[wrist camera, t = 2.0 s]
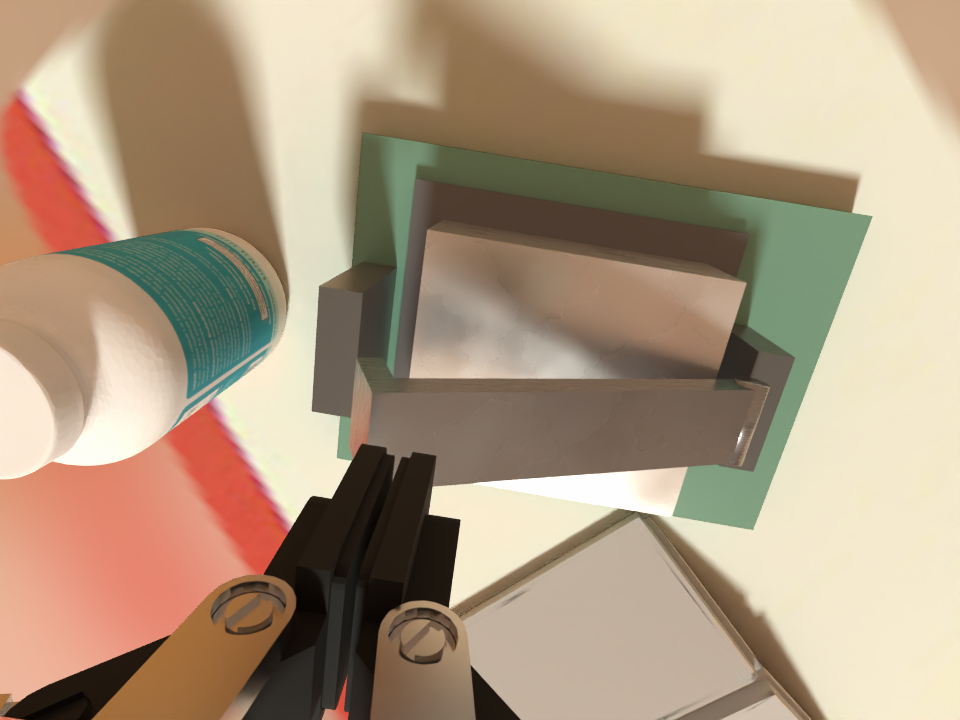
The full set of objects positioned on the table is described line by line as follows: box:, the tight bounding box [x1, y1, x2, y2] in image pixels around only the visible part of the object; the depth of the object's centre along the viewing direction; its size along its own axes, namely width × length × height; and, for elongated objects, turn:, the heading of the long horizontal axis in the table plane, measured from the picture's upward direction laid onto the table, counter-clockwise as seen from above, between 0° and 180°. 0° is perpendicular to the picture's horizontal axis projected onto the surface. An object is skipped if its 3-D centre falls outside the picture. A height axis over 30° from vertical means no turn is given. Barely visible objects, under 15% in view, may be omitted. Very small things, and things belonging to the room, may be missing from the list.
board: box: [312, 132, 872, 530], centre depth 24 cm, size 22×16×7 cm
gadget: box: [459, 511, 812, 720], centre depth 33 cm, size 23×15×4 cm, turn 39°
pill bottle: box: [0, 228, 287, 479], centre depth 22 cm, size 8×7×14 cm
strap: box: [349, 357, 770, 486], centre depth 19 cm, size 15×3×3 cm, turn 81°
